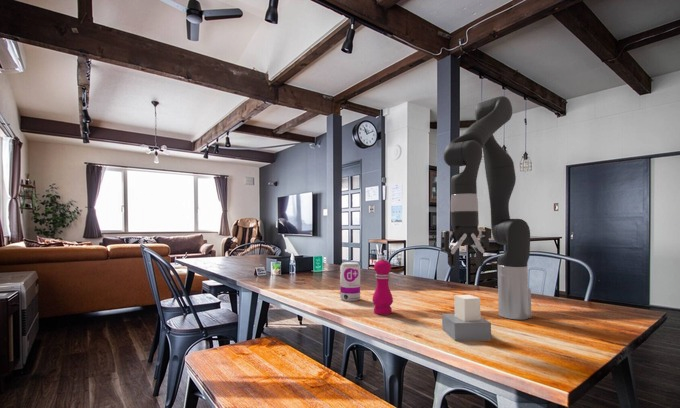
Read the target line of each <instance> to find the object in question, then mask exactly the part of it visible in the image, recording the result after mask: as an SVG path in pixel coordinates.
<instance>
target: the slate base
mask: <svg viewBox="0 0 680 408" xmlns="http://www.w3.org/2000/svg"><path fill="white" fill-rule="evenodd" d="M441 319H442V320H441V326H442V328H441V329H442V330H443V332H445V334H446V335H448V336H449V337H450V338H451V339H452V340H453V341H454V342H468V341H469V342H471V341H472V342H473V341H474V342H475V341H476V342H479V341H481V342H482V341H484V342H486V341H487V342H488V341H490V342H491V341H492V323H491V321H489V320H487V319H485V318H483V317H482V316H481V320H473V321H464V320H461V319H459V318H457V317H455V313H442V314H441Z"/></svg>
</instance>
